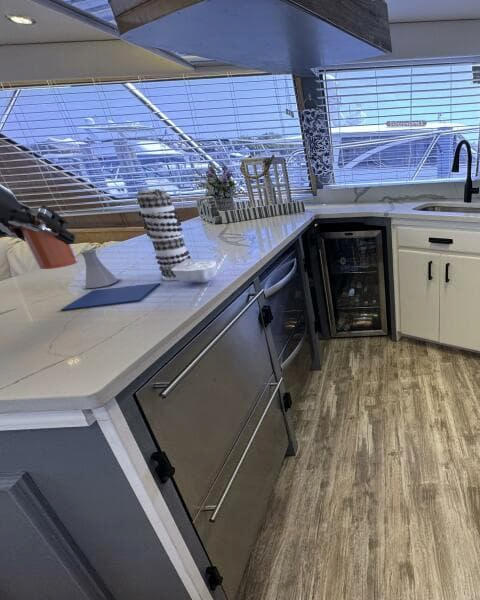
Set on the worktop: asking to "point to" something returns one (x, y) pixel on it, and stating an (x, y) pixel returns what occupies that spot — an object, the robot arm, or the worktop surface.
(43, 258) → the cup
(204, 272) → the white rounded container
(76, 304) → the cloth
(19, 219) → the robot arm
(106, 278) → the flask
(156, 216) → the decorative candle
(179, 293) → the worktop surface
